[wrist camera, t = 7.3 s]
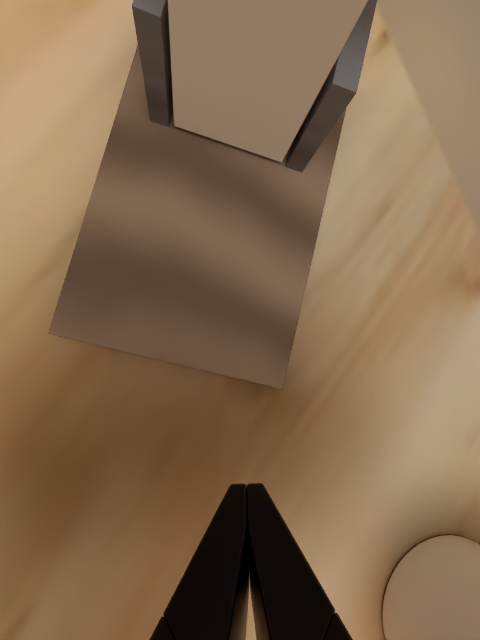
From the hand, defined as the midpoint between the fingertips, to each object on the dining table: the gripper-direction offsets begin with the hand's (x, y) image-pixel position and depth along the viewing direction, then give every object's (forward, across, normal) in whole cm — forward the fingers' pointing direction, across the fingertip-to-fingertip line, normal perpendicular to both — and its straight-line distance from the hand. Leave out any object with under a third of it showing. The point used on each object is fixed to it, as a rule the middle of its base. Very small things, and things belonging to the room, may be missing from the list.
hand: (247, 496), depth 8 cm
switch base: (+13, +1, -8) cm, 16 cm away
